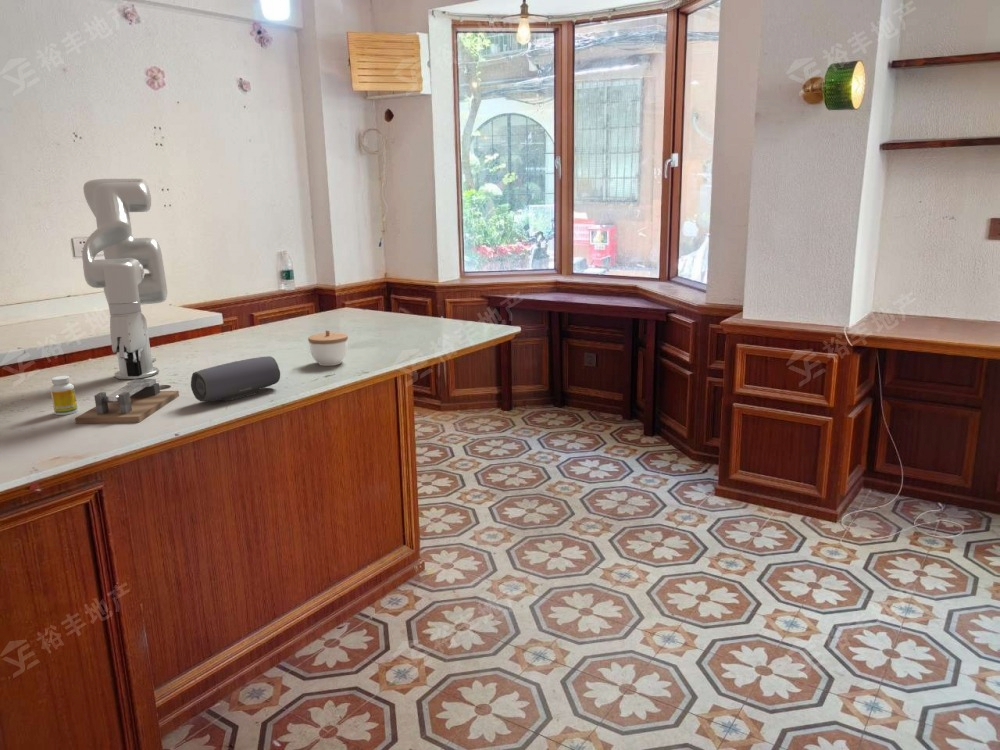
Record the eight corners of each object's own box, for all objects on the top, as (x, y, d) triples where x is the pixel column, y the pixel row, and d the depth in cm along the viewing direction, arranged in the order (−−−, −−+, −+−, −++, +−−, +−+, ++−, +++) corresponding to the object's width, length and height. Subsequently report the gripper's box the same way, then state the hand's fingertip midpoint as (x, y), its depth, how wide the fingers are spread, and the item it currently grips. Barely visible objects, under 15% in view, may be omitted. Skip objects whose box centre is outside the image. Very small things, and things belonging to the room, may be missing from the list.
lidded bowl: (340, 368, 236) (337, 334, 233) (303, 367, 238) (300, 334, 236) (355, 359, 248) (353, 327, 245) (320, 358, 250) (317, 326, 248)
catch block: (135, 393, 206) (133, 383, 206) (160, 392, 206) (158, 383, 206) (130, 396, 203) (128, 386, 203) (155, 395, 203) (154, 386, 203)
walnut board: (122, 397, 208) (119, 374, 207) (179, 395, 208) (176, 373, 207) (75, 423, 185) (71, 398, 183) (139, 422, 185) (135, 397, 183)
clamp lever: (134, 384, 205) (133, 378, 205) (156, 383, 205) (155, 378, 205) (99, 403, 187) (98, 397, 187) (123, 403, 187) (122, 396, 187)
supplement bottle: (51, 413, 194) (45, 377, 192) (74, 408, 198) (68, 373, 196) (58, 417, 191) (52, 381, 188) (81, 412, 195) (75, 377, 192)
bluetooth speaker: (264, 385, 218) (261, 352, 215) (283, 390, 212) (279, 356, 210) (191, 403, 201) (187, 367, 199) (209, 409, 195) (205, 372, 193)
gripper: (124, 304, 202) (134, 369, 207) (96, 313, 188) (107, 383, 192) (151, 303, 202) (161, 368, 207) (125, 313, 188) (136, 382, 192)
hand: (135, 375), depth 200 cm, fingers closed
